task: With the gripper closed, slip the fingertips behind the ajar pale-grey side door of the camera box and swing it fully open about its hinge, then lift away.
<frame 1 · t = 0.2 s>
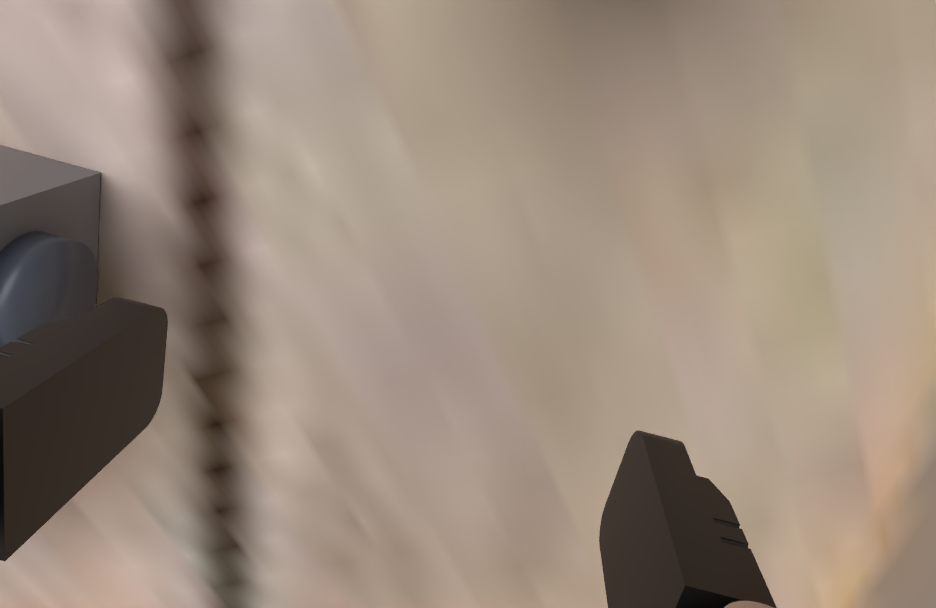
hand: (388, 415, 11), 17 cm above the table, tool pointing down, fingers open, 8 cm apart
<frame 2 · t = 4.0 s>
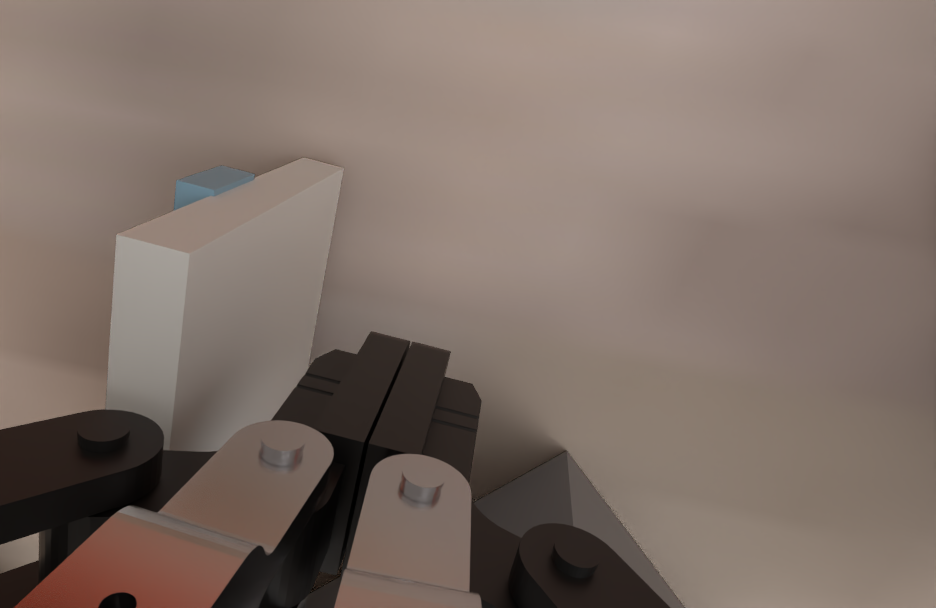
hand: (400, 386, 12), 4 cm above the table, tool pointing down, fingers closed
side door: (205, 504, 13), point 4 cm above the table, hinge at 40.3°, touching gripper
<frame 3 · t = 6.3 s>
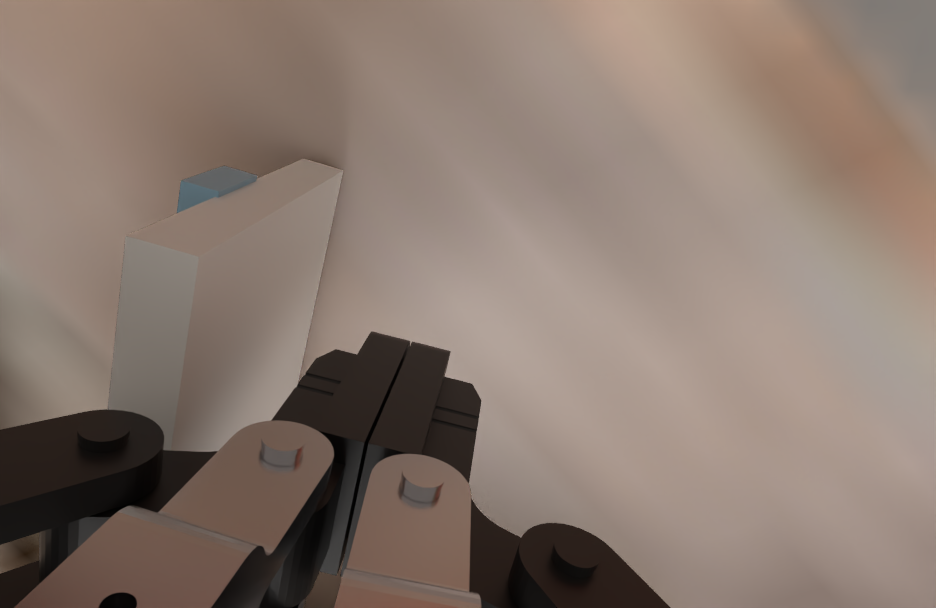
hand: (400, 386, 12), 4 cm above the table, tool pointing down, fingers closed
side door: (197, 503, 13), point 4 cm above the table, hinge at 77.8°, touching gripper
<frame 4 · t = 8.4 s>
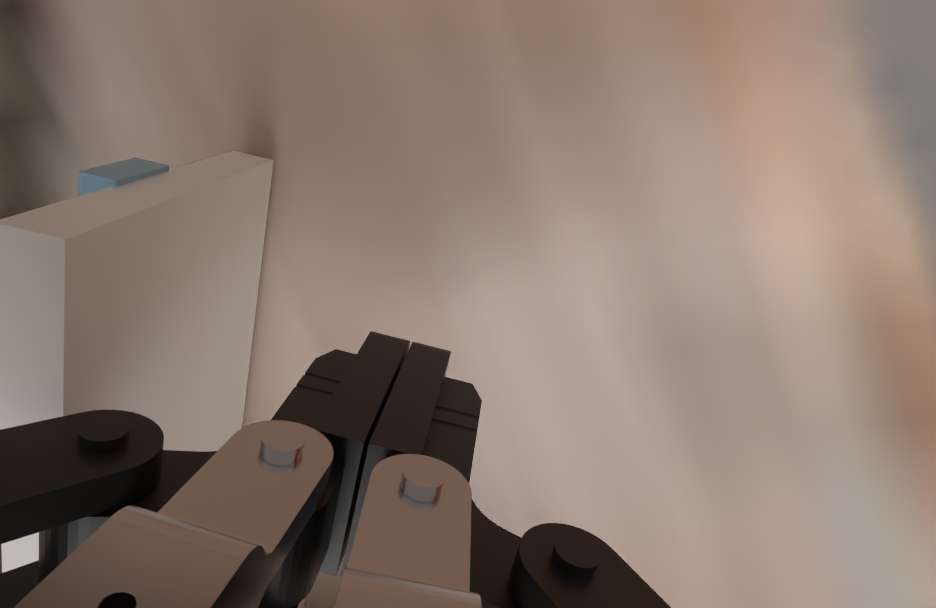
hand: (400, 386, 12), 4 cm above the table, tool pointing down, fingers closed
side door: (137, 497, 14), point 4 cm above the table, hinge at 101.4°
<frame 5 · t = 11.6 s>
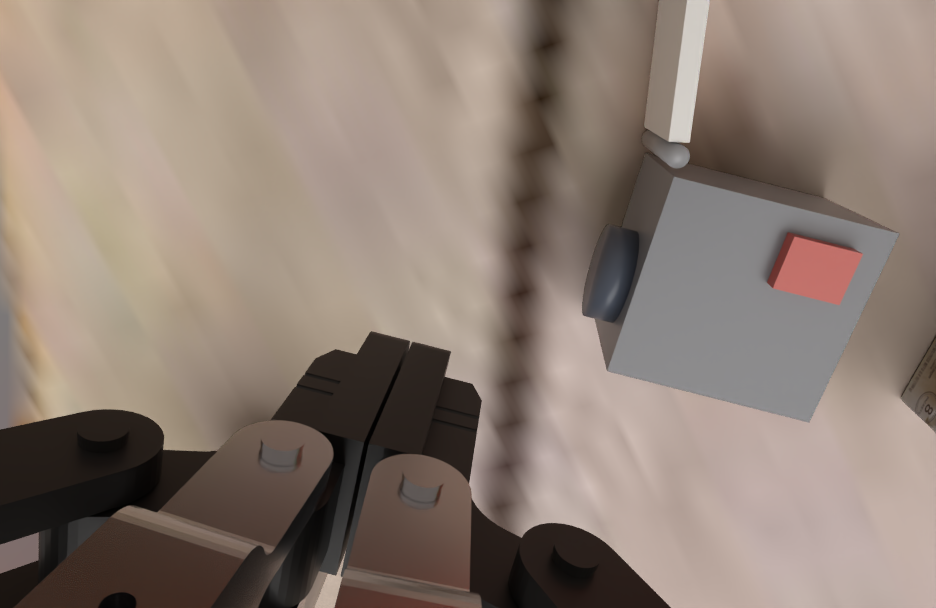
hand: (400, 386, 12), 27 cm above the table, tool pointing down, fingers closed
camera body: (703, 258, 38), on the table
side door: (675, 9, 31), point 4 cm above the table, hinge at 101.4°
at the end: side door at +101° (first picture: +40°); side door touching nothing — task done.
